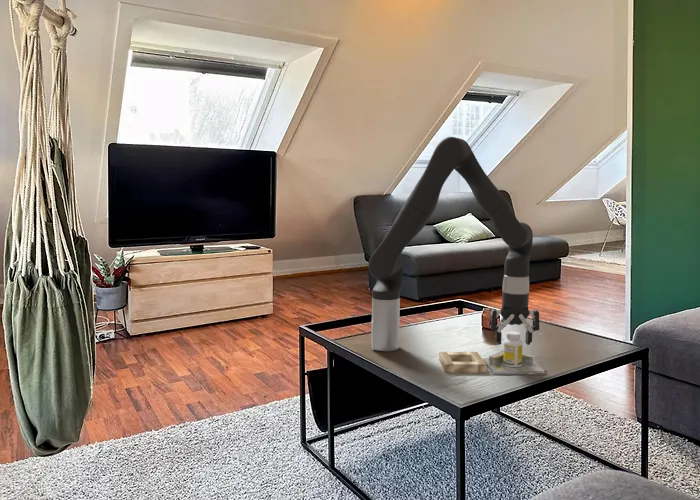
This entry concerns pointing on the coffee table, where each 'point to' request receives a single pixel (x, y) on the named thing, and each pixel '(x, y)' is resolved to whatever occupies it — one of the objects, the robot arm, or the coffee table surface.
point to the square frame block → (462, 362)
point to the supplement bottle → (512, 350)
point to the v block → (498, 367)
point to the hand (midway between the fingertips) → (513, 343)
